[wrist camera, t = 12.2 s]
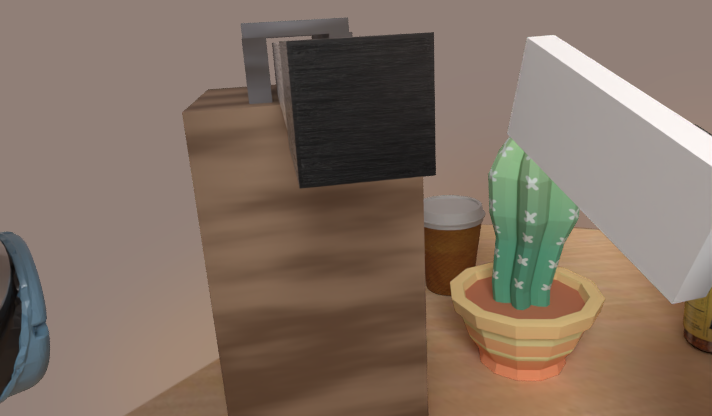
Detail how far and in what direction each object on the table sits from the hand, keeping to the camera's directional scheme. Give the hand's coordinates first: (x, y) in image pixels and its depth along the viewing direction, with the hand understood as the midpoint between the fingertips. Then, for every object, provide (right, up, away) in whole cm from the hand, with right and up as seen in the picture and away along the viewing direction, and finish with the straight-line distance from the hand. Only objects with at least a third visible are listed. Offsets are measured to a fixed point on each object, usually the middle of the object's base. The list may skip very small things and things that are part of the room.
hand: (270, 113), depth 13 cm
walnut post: (-1, -21, +41) cm, 46 cm away
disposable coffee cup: (+15, -13, +63) cm, 67 cm away
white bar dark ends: (0, +2, +14) cm, 14 cm away
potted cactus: (+20, -19, +46) cm, 54 cm away
